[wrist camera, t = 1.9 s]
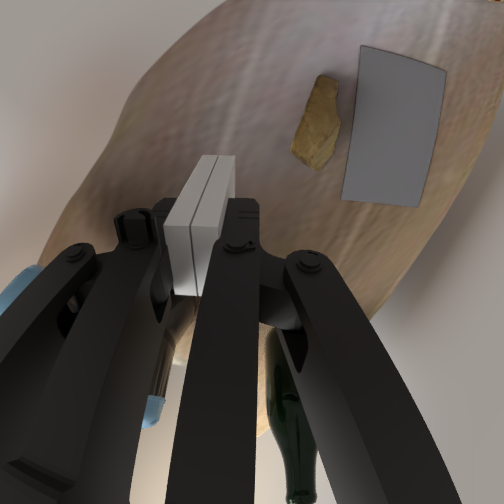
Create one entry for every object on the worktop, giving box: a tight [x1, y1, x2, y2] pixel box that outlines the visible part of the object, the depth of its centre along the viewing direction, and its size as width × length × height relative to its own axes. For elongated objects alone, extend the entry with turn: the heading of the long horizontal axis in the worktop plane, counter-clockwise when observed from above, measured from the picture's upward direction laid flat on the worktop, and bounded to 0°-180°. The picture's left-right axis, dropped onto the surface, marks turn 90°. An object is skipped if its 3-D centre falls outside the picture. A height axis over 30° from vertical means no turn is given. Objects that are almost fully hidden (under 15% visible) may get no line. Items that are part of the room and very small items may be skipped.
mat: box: [341, 46, 446, 208], centre depth 30 cm, size 12×20×1 cm, turn 178°
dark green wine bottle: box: [264, 328, 318, 504], centre depth 40 cm, size 10×10×33 cm
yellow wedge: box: [290, 75, 341, 171], centre depth 28 cm, size 11×9×10 cm
